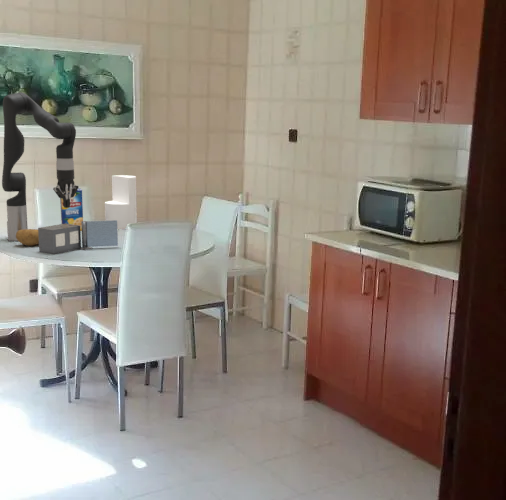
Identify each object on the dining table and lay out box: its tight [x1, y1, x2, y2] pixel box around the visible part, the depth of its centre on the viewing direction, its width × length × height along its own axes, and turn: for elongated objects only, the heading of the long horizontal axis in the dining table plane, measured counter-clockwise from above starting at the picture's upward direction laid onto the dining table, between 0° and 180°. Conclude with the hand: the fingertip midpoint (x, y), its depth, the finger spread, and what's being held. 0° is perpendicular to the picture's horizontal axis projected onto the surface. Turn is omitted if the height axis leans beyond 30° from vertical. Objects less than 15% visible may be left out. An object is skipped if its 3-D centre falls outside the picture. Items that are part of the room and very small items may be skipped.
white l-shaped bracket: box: [104, 174, 138, 231], centre depth 381 cm, size 17×17×28 cm
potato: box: [16, 228, 39, 247], centre depth 330 cm, size 10×14×8 cm
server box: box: [37, 223, 94, 255], centre depth 320 cm, size 20×14×11 cm
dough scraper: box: [81, 220, 119, 248], centre depth 325 cm, size 16×2×12 cm, turn 106°
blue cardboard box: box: [59, 188, 84, 232], centre depth 370 cm, size 7×11×22 cm, turn 110°
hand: (66, 207), depth 308 cm, fingers closed
